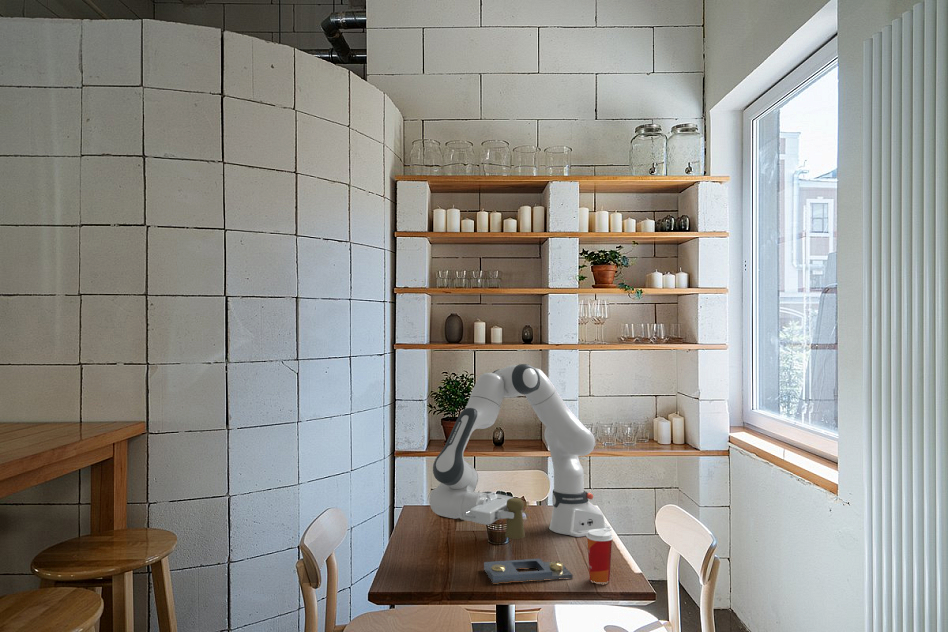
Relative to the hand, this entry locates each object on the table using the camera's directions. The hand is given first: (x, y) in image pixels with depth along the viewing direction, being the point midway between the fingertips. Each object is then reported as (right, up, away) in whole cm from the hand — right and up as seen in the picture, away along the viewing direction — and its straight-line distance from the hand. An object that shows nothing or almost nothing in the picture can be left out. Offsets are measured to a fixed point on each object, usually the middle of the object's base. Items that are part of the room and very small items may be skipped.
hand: (517, 513), depth 187 cm
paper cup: (+23, -18, -6) cm, 30 cm away
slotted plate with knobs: (+3, -18, -1) cm, 18 cm away
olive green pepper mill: (-1, -7, 0) cm, 7 cm away
